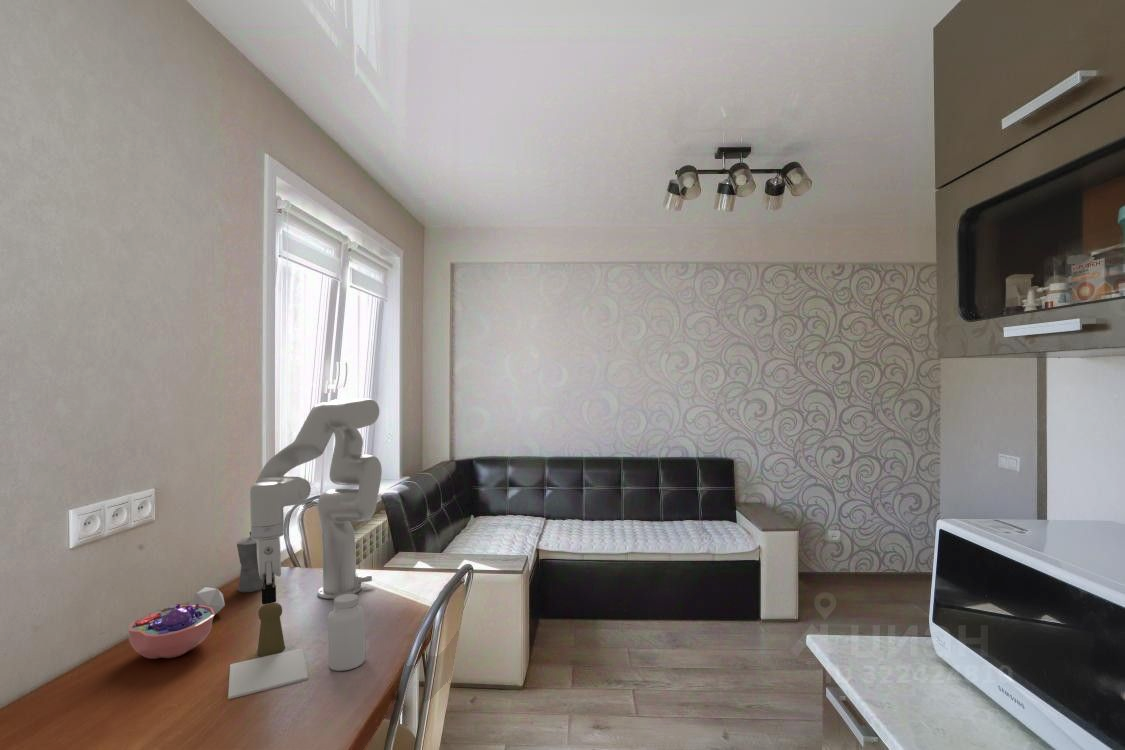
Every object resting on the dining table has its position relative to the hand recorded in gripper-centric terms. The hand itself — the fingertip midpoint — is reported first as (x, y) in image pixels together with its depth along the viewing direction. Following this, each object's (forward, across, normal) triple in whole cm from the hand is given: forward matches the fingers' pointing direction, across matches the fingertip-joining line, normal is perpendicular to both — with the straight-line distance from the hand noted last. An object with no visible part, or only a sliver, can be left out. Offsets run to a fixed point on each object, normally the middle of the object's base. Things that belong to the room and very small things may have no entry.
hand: (269, 602), depth 147 cm
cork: (+9, -9, 0) cm, 13 cm away
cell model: (+9, +3, +21) cm, 23 cm away
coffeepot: (+9, +43, +3) cm, 44 cm away
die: (+9, +24, +15) cm, 30 cm away
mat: (+9, -21, +1) cm, 23 cm away
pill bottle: (+9, -26, -15) cm, 31 cm away
